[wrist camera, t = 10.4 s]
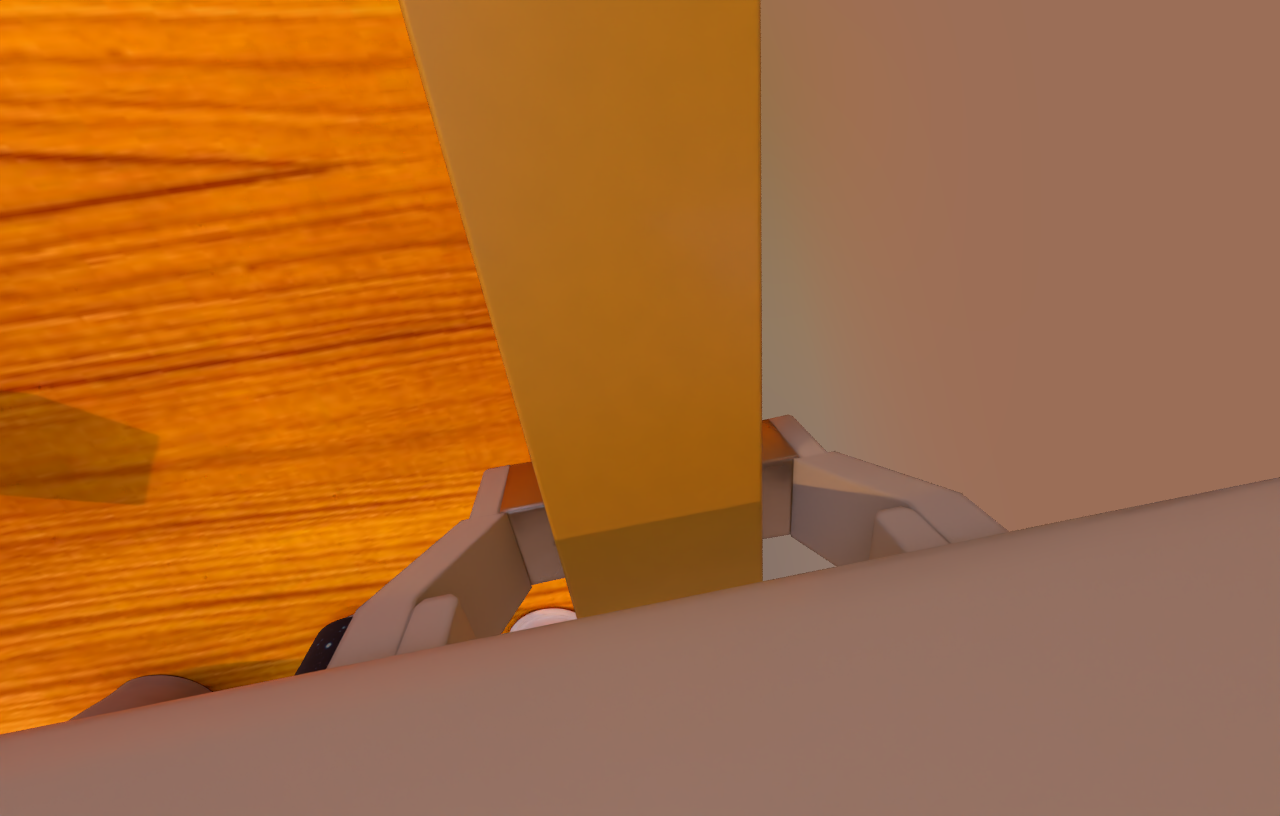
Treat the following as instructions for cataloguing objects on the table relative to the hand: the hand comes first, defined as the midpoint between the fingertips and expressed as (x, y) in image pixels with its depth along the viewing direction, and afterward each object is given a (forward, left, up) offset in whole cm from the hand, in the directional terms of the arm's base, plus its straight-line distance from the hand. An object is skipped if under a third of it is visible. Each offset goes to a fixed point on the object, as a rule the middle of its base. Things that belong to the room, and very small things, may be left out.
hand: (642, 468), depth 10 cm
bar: (0, 0, -1) cm, 1 cm away
